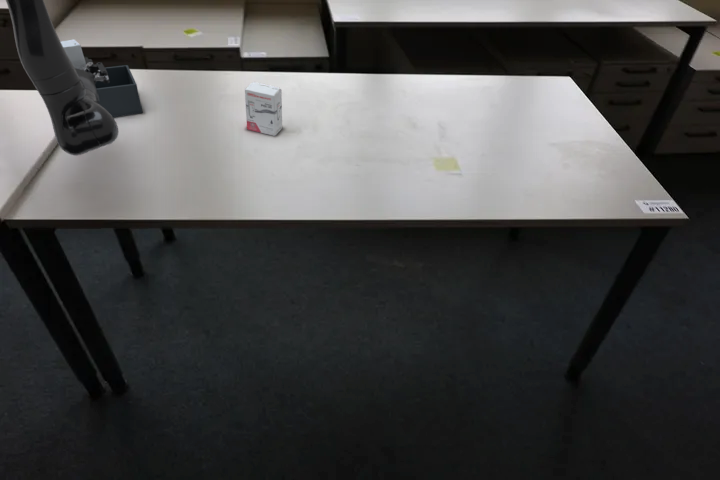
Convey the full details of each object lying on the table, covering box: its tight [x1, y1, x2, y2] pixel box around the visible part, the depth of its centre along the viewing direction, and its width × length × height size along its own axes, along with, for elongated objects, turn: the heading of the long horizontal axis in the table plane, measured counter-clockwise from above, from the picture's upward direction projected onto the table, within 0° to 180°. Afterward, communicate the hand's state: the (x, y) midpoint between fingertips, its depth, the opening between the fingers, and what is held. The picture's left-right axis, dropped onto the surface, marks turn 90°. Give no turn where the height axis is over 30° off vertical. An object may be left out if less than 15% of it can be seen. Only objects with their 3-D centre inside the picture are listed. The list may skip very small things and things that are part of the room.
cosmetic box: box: [60, 38, 86, 69], centre depth 116 cm, size 6×4×12 cm
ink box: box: [244, 81, 283, 137], centre depth 136 cm, size 9×5×12 cm, turn 73°
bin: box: [95, 64, 143, 118], centre depth 140 cm, size 13×13×8 cm
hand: (69, 63), depth 116 cm, fingers closed on cosmetic box, 6 cm apart
